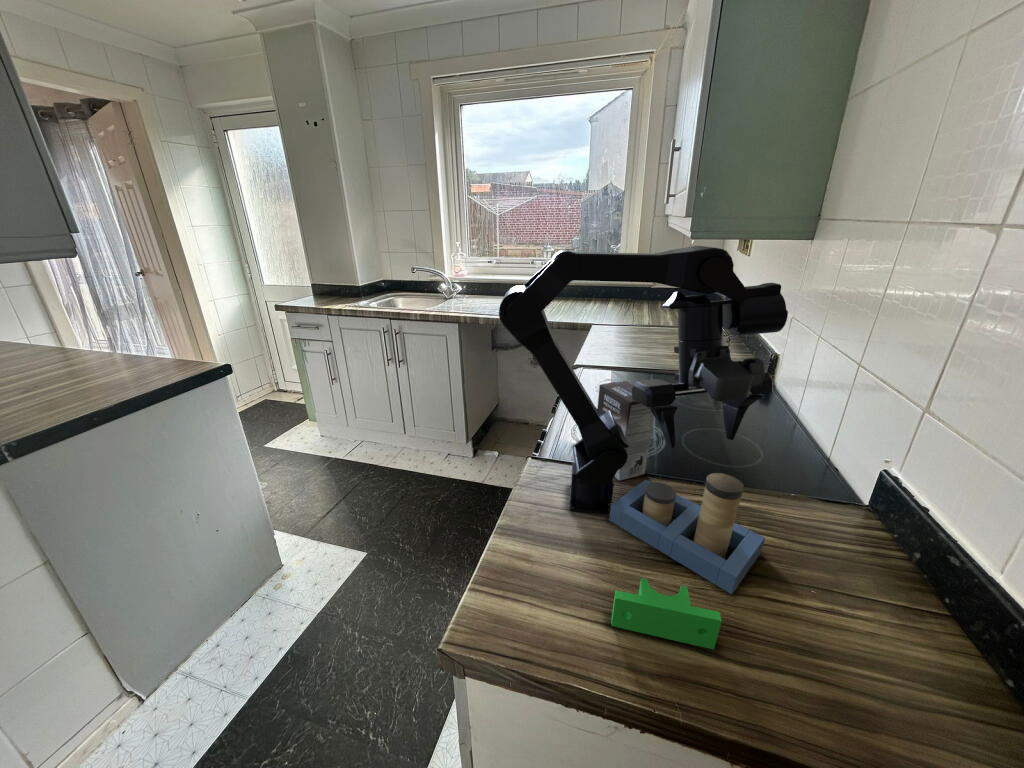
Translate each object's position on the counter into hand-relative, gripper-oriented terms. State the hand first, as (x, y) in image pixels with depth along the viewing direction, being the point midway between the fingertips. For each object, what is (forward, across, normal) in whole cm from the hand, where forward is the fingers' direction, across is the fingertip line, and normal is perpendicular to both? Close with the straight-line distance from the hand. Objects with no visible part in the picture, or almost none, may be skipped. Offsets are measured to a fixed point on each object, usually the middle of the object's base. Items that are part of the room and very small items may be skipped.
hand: (701, 443), depth 60 cm
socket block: (+14, -4, -1) cm, 15 cm away
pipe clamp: (+16, -14, -14) cm, 26 cm away
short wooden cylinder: (+13, -6, +2) cm, 15 cm away
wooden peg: (+15, -2, -4) cm, 16 cm away
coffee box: (+10, -6, +18) cm, 22 cm away
